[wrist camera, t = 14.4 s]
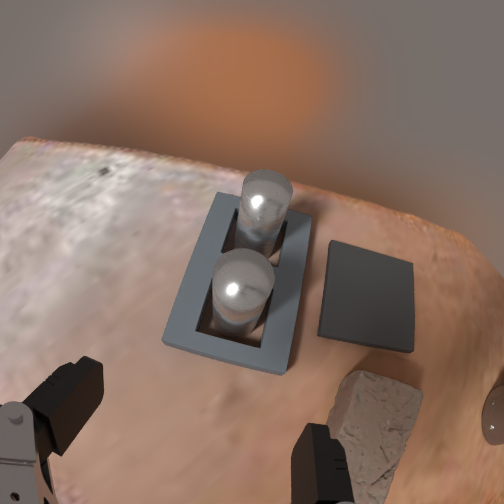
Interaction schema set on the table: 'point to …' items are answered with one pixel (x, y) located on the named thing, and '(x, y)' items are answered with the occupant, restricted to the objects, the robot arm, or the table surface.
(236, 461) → the table surface
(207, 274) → the grey slotted holder
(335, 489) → the robot arm
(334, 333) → the mat
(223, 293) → the cylinder
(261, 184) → the cylinder
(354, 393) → the brick
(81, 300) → the table surface
